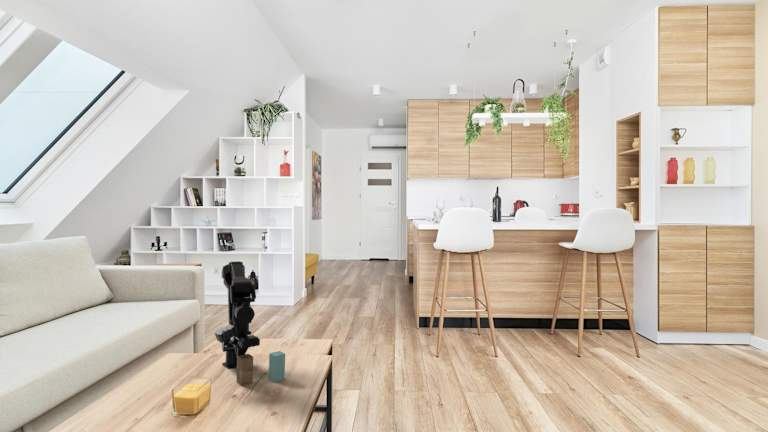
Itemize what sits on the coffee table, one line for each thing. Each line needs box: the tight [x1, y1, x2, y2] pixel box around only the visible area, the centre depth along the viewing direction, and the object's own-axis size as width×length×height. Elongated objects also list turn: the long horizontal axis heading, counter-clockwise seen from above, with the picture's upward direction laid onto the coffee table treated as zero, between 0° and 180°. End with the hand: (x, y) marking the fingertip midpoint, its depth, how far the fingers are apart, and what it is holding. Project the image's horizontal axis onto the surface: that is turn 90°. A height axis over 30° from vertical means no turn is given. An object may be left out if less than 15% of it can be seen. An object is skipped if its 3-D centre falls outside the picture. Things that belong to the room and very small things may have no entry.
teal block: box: [268, 350, 286, 383], centre depth 143 cm, size 4×4×9 cm
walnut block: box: [236, 353, 254, 387], centre depth 139 cm, size 4×4×9 cm
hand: (239, 361), depth 142 cm, fingers closed
